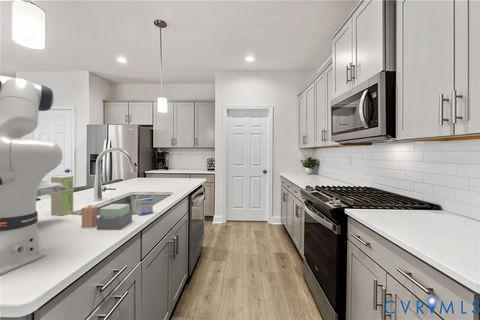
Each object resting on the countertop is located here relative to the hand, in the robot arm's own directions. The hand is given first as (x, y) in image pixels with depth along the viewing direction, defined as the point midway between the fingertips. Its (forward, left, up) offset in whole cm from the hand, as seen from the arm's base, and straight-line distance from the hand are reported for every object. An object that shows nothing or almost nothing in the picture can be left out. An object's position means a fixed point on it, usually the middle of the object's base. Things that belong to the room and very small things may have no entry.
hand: (59, 190), depth 114 cm
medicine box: (+24, -31, -17) cm, 42 cm away
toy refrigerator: (+22, +13, -17) cm, 31 cm away
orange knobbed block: (0, -14, -17) cm, 22 cm away
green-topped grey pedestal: (+2, -25, -17) cm, 30 cm away
